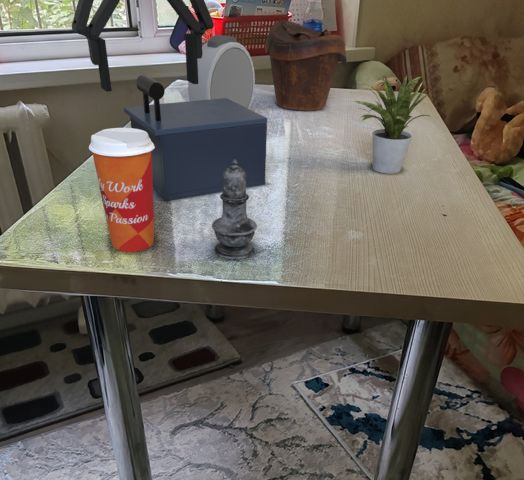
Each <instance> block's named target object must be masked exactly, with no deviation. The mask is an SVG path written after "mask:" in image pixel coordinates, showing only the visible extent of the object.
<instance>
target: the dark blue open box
mask: <svg viewBox="0 0 524 480" xmlns="http://www.w3.org/2000/svg"><path fill="white" fill-rule="evenodd" d="M129 121H130V126H131V127H130V128H134V129H140V130H143V131H146V132H147V133H148V136H149V138H150V139H151V141H152V142H153V144H154V147H155V148H154V149H153V150H152V179H153V190H154V191H155V192H156V193H157V194H159V196H160V197H162V198H163V199H164V200H165V202H168V201H174V200H180V199H185V198H191V197H197V196H205V195H210V194H217V193H221V192H222V193H223V172H224V170H225V169H226V168H228V167H231V166H232V165H233V164H232V162H233V160H234V159H235V160H236V162H237V164H236V165H237V166H238V167H241V168H242V169H244V171H245V172H246V189H247V188H251V187H252V188H253V187H258V186H264V185H266V165H267V162H266V161H267V136H268V135H267V134H268V123H264V124H255V125H246V126H238V127H229V128H220V129H211V130H202V131H193V132H185V133H176V134H167V135H158V136H155V135H154V134H153V133H151V132H150V131H149V130H147V129H146V128H145V127H143V126H142V125H141V124H139V123H138V122H137V121H135V120H134V119H133V118H131V117H130V116H129Z"/></svg>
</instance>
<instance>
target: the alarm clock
mask: <svg viewBox="0 0 524 480" xmlns="http://www.w3.org/2000/svg"><path fill="white" fill-rule="evenodd" d="M202 53H203V55H202V58H200V59H197V61H198V84H192V83H190V82H188V81H187V82H188V83H187V84H188V85H187V86H188V87H187V93H188V99H189V100H188V101H198V100H210V99H221V98H227V99H229V100H231V101H234V102H236V103H238V104H240V105H242V106H244V107H246V108H248V109H250V110H251V106H252V104H253V99H254V94H255V84H256V75H255V73H256V72H255V68H254V62H253V60H252V57H251V55H250V52H249V51H248V50H247V48H246V47H245V46H244V45H242V44H241V43H239V42H238V40H237V38H236V37H235V36H228V35H222V34H215V35H212V36H211V37H209V39H208V40H207V42H205V43H204V44H202Z"/></svg>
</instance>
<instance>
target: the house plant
mask: <svg viewBox="0 0 524 480" xmlns="http://www.w3.org/2000/svg"><path fill="white" fill-rule="evenodd" d="M376 76H378V77H379V78H380V79H381V81H382V84H383V88H384V92H385V94H384V93H383V92H382V91H380V90H379V89H377V88H375V87H373V86H372V85H370V84H367V83H364V82H359V81H357V83H359V84H362V85H365V86H367V87H370V88H371V89H369V88H367V87H363V90H364V89H366V90H368V91H370V92H372V93H373V94H374V95H375V97H376V99H377V100H378V101H377V100H374V102H375V103H376V104H374V103H371V102H368V101H360V100H354V102H355V103H357V104H359V105H363V106H365V107H367V108H368V109H369V110H367V109H365V108H361V107H360V108H359V107H358V110H359V109H360V110H363V111H366V112H367V113H369V114H363V115H362V116H360V117H359V119H361V118H362V119H361V122H363V121H365V120H369V119H371V118H374V120H378V121H379V122H380V123H381V125H382V126H383V127H382V126H380V129H376V130H373V132H372V170H373V171H375V172H377V173H381V174H386V175H387V174H390V175H392V174H393V175H394V174H398V173H400V172H401V169H402V167H403V164H404V161H405V158H406V156H407V153H408V150H409V147H410V144H411V142H412V139H413V135H412V134H411V133H410V132H408V131H405V129H407V128H408V127H409V124H410V123H411V122H412V121H414V120H415V119H418V118H420V117H431V118H432V119H433V117H432V115H430V114H420V115H417V116H415V117H413V116H412V115H410V114H411V113H412V112H413V110H414V109H415V108H416V107H417V106H418V105H419V104H420V103H421V102H422V101H423V100H425V98H426V97H428V96H429V95H430V93H427V94H426V95H424V96H422V95H423V93H424V92H425V90H426V89H427V87H425V88H423V90H421V92H420V93H419V91H420V89H421V87H422V85H423V83H424V82H423V81H421V83H420V84H419V85H418V86H417V88H416V89H415V91H414V93H413V90H414V88H415V87H416V85H417V84H418V82H419V80H421V78H422V76H417V77H414V78H413V79H412V80H410V81H409V82H408V83H407V81H408V76H409V75H408V73H407V74H406V75H405V77H404V78H403V80H402V83H401V85H400V87H399V89H398V92H397V96H396V95H395V91H394V88H393V86H392V84H391V83H390V81H389V80H388V79H387V77H386V76H384V77H383V76H381V75H380V74H378V73H376ZM372 89H373V90H374V91H375V92H376V93H377V94H376V93H375V92H374V91H373V90H372ZM418 93H419V94H418ZM417 94H418V95H417ZM377 95H378V96H377ZM421 96H422V97H421ZM415 97H416V98H415ZM380 99H381V101H382V103H383V106H384V107H383V106H382V103H381V101H380ZM414 99H415V100H414ZM413 100H414V101H413ZM370 111H373V112H376V113H377V114H379V115H380V116H381V117H380V116H377V115H374V114H370ZM412 117H413V118H412ZM379 122H377V123H378V125H380V123H379Z"/></svg>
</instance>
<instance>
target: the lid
mask: <svg viewBox="0 0 524 480" xmlns="http://www.w3.org/2000/svg"><path fill="white" fill-rule="evenodd" d="M135 85H136V88H137V90H138V91H140V92H141V93H142V103H143V105H132V106H124V107H123V112H124V114H126V115H127V116H129V118H130V117H131V118H133V119H134V120H135V121H137V122H138V123H139V124H141V125H142V126H143V127H145V128H146V129H147V130H149V131H150V132H151V133H153V134H154V135H155V136H158V135H167V134H176V133H185V132H193V131H202V130H211V129H220V128H229V127H238V126H246V125H255V124H264V123H266V124H268V117H266V116H263V115H262V114H260V113H258V112H256V111H254V110H251V108H250V109H248V108H246V107H244V106H242V105H240V104H238V103H236V102H234V101H231V100H229V99H227V98H221V99H210V100H198V101H190V100H188V101H177V102H165V103H160V102H161V101H160V100H162V98H163V97H164V96H165V92H166V91H165V87H164V85H163V84H162V83H161V82H159V81H157V80H156V79H153V77H150V76H148V75H146V74H140V75H139V76H138V77H137V78H136V81H135ZM149 97H150V98H151V99H153V104H150V98H149Z"/></svg>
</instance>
